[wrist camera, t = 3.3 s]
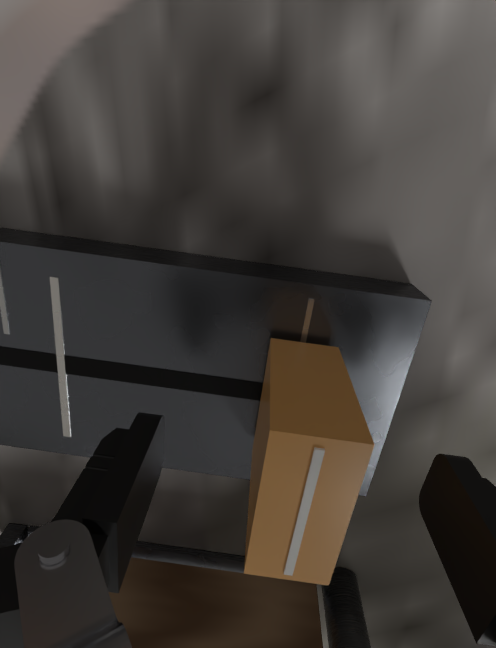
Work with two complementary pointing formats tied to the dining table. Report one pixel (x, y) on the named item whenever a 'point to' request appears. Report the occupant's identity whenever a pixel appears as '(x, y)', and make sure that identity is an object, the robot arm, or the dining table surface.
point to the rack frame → (339, 597)
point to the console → (180, 345)
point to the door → (214, 608)
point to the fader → (304, 463)
